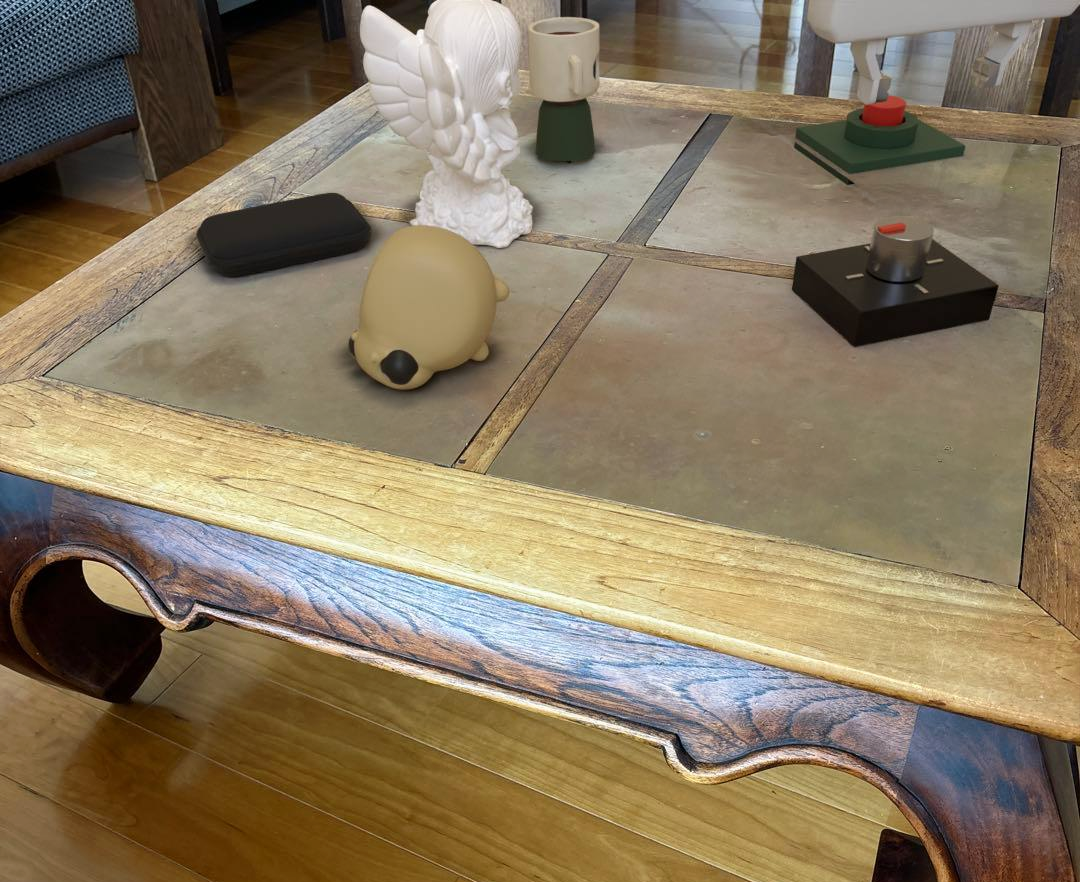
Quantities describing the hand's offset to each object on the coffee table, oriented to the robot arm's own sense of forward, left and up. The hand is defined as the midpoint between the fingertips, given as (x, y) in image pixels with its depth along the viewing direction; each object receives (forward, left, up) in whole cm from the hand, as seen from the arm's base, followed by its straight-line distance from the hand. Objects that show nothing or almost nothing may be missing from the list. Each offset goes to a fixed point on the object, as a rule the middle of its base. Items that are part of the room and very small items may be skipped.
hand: (928, 93), depth 75 cm
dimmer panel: (+1, +2, -16) cm, 16 cm away
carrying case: (+46, -27, -16) cm, 56 cm away
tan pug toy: (+38, -2, -16) cm, 42 cm away
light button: (-15, -26, -12) cm, 32 cm away
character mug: (+15, -38, -16) cm, 44 cm away
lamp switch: (-15, -26, -16) cm, 33 cm away
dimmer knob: (+1, +2, -12) cm, 13 cm away
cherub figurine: (+29, -24, -16) cm, 41 cm away
